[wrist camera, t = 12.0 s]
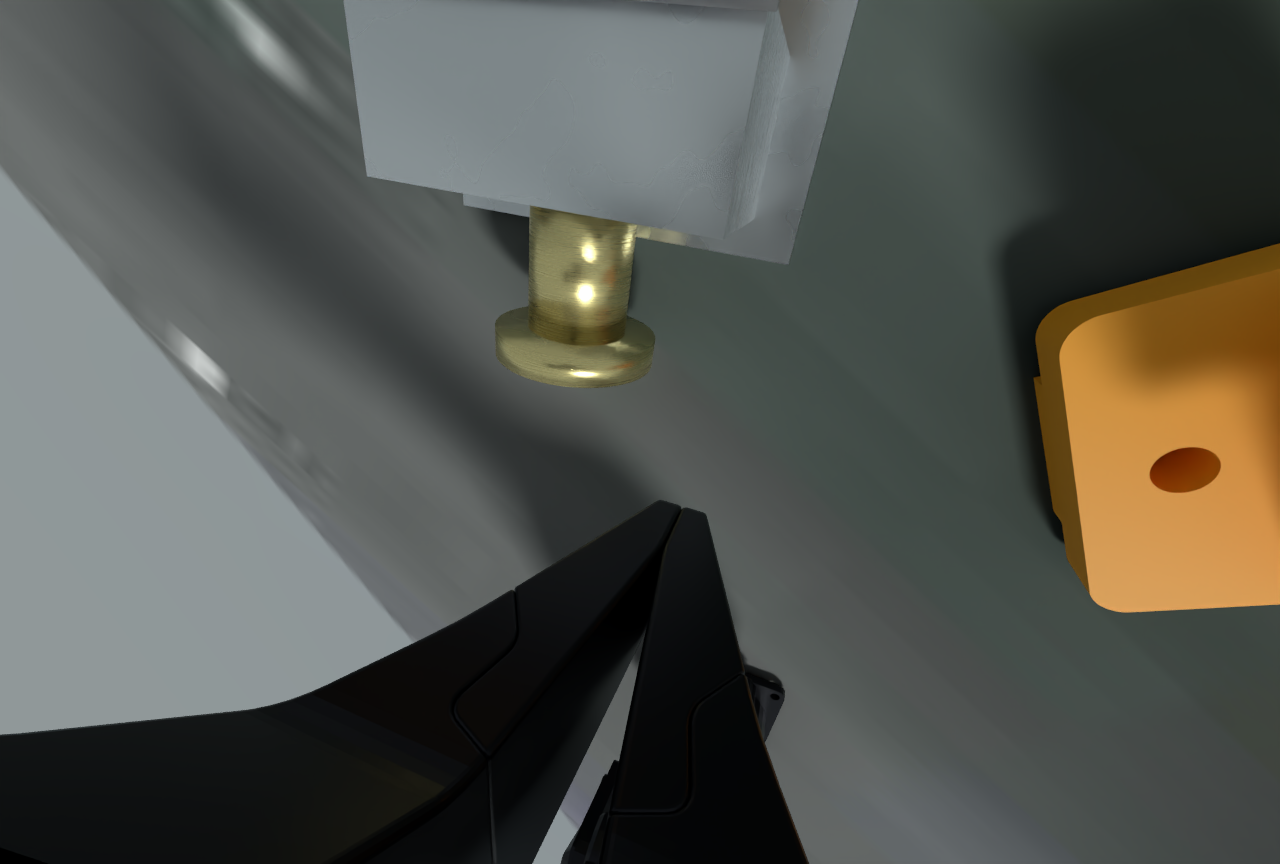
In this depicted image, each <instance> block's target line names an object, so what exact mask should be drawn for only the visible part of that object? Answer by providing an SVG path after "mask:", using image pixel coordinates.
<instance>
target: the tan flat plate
mask: <svg viewBox="0 0 1280 864" xmlns="http://www.w3.org/2000/svg"><path fill="white" fill-rule="evenodd" d="M630 1H643V2H656V3H669V4H682V5H695V6H707V7H720V8H733V9H746V10H759V11H772V12H776V11H777V9H778V7H779V3H780V0H630Z"/></svg>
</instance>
